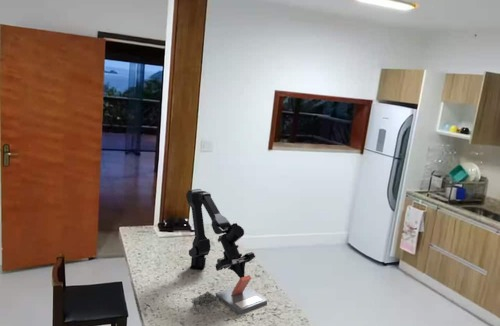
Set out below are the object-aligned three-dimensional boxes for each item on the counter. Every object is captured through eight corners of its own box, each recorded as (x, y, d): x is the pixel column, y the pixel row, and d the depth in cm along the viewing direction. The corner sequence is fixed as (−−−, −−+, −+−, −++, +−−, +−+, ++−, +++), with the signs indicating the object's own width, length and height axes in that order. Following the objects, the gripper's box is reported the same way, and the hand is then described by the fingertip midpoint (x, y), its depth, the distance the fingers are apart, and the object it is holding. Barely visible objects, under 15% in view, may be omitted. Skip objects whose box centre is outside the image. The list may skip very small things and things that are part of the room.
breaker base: (215, 296, 175) (216, 292, 174) (243, 286, 185) (243, 283, 185) (238, 314, 163) (239, 310, 163) (266, 303, 174) (267, 299, 173)
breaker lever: (230, 293, 175) (239, 278, 169) (241, 289, 178) (250, 274, 173) (232, 296, 174) (241, 281, 168) (243, 292, 178) (252, 277, 172)
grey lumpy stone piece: (201, 315, 160) (202, 306, 159) (189, 307, 165) (189, 298, 164) (219, 305, 168) (220, 296, 168) (207, 297, 173) (208, 289, 172)
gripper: (236, 249, 190) (249, 280, 184) (204, 257, 177) (216, 291, 171) (249, 239, 182) (262, 271, 176) (216, 247, 170) (229, 282, 164)
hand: (243, 279), depth 172 cm, fingers closed, pressing on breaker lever
